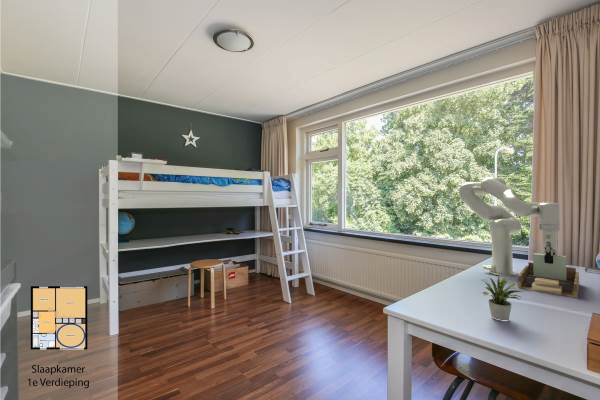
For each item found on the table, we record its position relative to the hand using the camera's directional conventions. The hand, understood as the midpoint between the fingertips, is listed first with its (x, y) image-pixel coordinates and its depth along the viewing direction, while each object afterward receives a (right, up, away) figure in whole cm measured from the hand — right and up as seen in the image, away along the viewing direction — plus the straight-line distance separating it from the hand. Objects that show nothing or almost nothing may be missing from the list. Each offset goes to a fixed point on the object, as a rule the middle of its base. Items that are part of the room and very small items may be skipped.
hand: (549, 261), depth 138 cm
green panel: (0, -11, 0) cm, 11 cm away
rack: (-4, -12, -4) cm, 13 cm away
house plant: (-51, -14, -35) cm, 64 cm away
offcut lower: (-11, -11, -11) cm, 19 cm away
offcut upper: (-11, -9, -11) cm, 18 cm away
